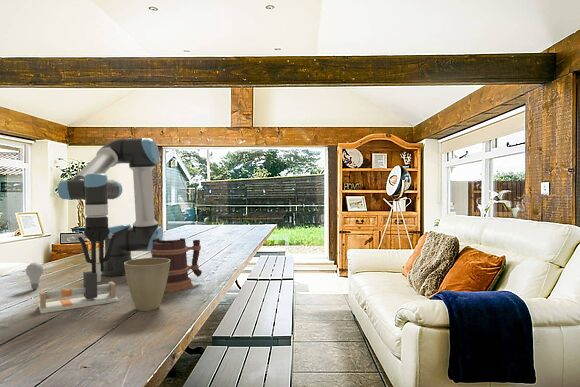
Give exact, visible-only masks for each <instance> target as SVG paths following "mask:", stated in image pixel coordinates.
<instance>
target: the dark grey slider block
mask: <svg viewBox="0 0 580 387" xmlns="http://www.w3.org/2000/svg"><path fill="white" fill-rule="evenodd" d="M82 274H83V275H82V277H83V281H82V282H83V287H86V294H83V297H85V298H86V299H90V298H97V295H98V292H97V285H98V282H97V273H96V272H95V273H93V272H92V270H91V271H84V272H83V273H82Z"/></svg>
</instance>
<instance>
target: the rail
mask: <svg viewBox="0 0 580 387" xmlns="http://www.w3.org/2000/svg"><path fill="white" fill-rule="evenodd" d="M116 289H117V288H116V283H115V282H114V281H108V283H104V284H97V293H99V292H101V293H102V292H108V293H102V294H97V298H90V299H86V298H85V297H84V296H82V295H84V294H86V287H84V286H83V287H75V288H74V287H73V288H66V289H60V290H51V291H45V290H39V303H38V309H39V313H40V314H48V313H53V312H58V311H59V312H60V311H66V310H73V309H79V308H84V307H85V308H86V307H92V306H96V305H103V304H108V303H110V304H111V303H115V302H117V303H118V302H119V298H118V297H117V296H116V295H117V293H116ZM78 295H81V297H75V298H70V297H73V296H78ZM68 297H69V298H68ZM59 298H68V299H61V300H60V299H59ZM53 299H59V300H55V301H47V300H53Z"/></svg>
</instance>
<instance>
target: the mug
mask: <svg viewBox="0 0 580 387" xmlns="http://www.w3.org/2000/svg"><path fill="white" fill-rule="evenodd" d="M192 243H193V245H192V246H188V245H186V238H182V237H181V238H179V239H170V240H169V239H167V240H164V239H162V240H159V238H155V239H153V245H152V249H151V250H150V251H149V252H150V254H151V258H165V259H169V260H170V267H169V274H168V279H167V283H166V287H165V291H164V293H173V292H174V293H175V292H180V291H186V290H189V289H190V288H192V287H193V282H192V278H191V277H189V273H188V272H189V271H191V270H192V272H193V273H194V275H195V276H196V277H197V278H198V277H199V278H200V276H202V273H203V271H202V270H201V269H200V265H199V264H198V261H199V256H200V251H201V249H202V246H201V245H200V244H201V240H200V239H193V240H192ZM190 250H192V260H191V265H188V256H187V252H189V251H190Z"/></svg>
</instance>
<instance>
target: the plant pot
mask: <svg viewBox="0 0 580 387" xmlns="http://www.w3.org/2000/svg"><path fill="white" fill-rule="evenodd" d="M124 267H125V273H126V275H125V278H126V283H127V286H128V290H129V294H130V296H131V299H132V302H133V305H134V307H135V309H136V310H137V311H139V312H140V311H141V312H149V311H155V310H157V309H159V308H160V305H161V302H162V299H163V297H164V293H165V292H164V291H165V287H166V283H167V279H168V274H169V267H170V260H169V259H165V258H152V257H141V258H135V259H132V260H129V261H126V262H124Z"/></svg>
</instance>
